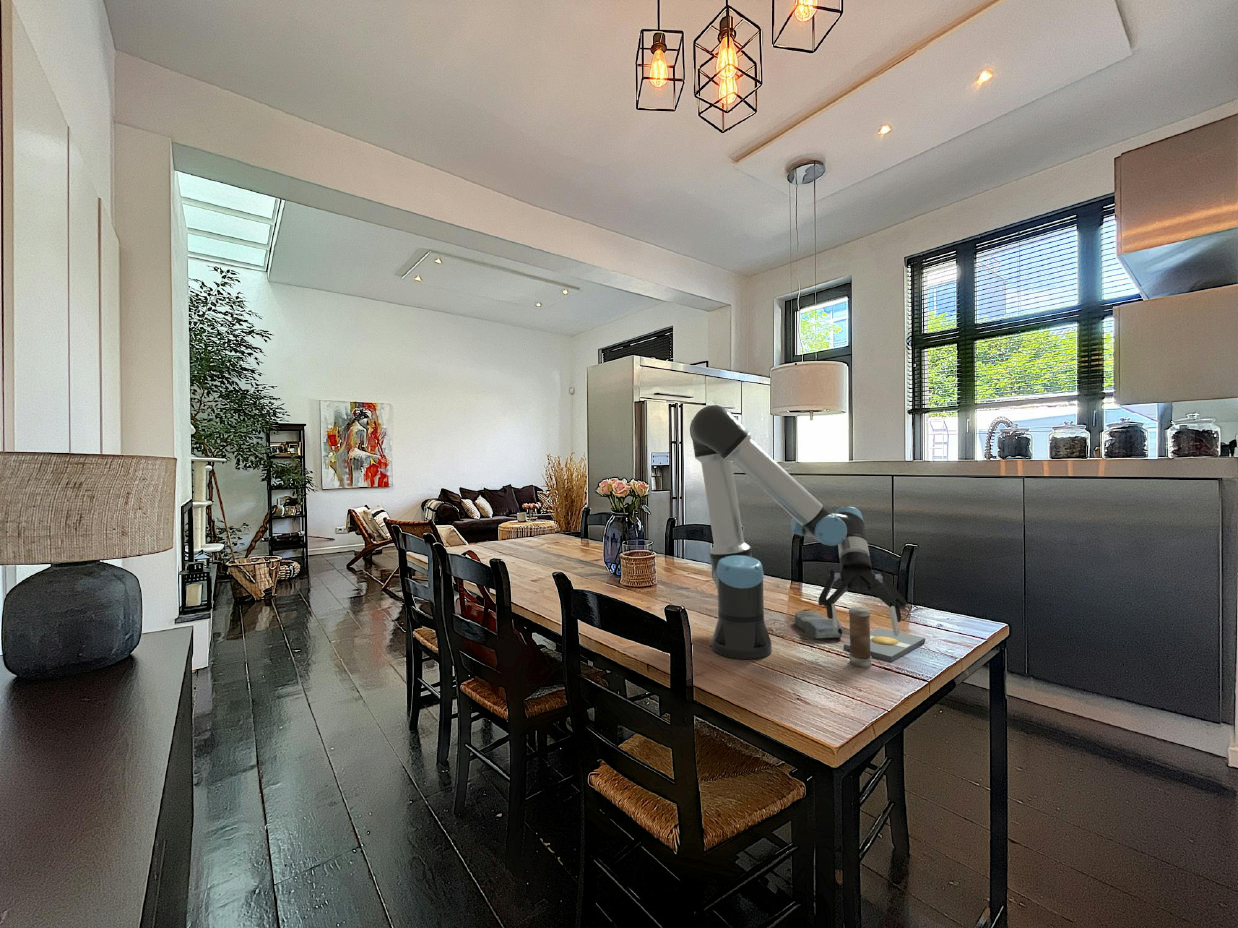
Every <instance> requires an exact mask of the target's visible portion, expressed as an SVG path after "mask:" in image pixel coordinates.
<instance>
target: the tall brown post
mask: <svg viewBox="0 0 1238 928" xmlns="http://www.w3.org/2000/svg"><path fill="white" fill-rule="evenodd" d="M848 614H849V642H850V650H849V652H850V653H849V655H848V656H849V657H848V658H849V659H848V660H849V664H850V666H852V667H856V668H859V669H860V668H861V669H868V668H871V667H872V665H873V664H872V656H870V632H871V626H870V625H871V623H870V622H871V621H870V620H871V618H870V617H871V610H870V609H869V608H865V607H861V606H857V607H856V606H852V607H849V608H848Z"/></svg>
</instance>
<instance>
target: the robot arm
mask: <svg viewBox="0 0 1238 928" xmlns="http://www.w3.org/2000/svg"><path fill="white" fill-rule="evenodd" d="M690 422H691V423H690V425H689V435H690V438H691V440H692V441H691V442H692V446H693V451H694V458H695V460H697V461H698V462H700V464H701V468H702V469H701V470H702V476H703V482H704V489H705V494H706V501H707V509H708V514H709V515H708V516H709V522H710V527H711V534H712V540H713V546H712V548H711V549H710V550H709V557H710V563H711V577H712V580H713V583H714V585H715V586H716V590H717V611H718V613H717V614H718V617H717V621H716V625H715V628H714V632H713V634H712V638H711V643H712V644H711V649H712V650H713V652H714V653H716V654H718V655H719V656H722V655H723V657H727V658H731V659H737V660H738V659H739V660H754V659H755V660H756V659H762V658H766V657H767V656H769V655H771V653H772V651H773V650H772V648H773V647H772V646H773V645H772V639H771V637H770V634H769V631H768V628H767V626H766V623H765V614H764V613H765V612H764V611H765V610H764V609H765V606H764V577H765V574H764V570H763V568H764V567H763V564H762V562H761V561H760V560H759V559H757V558H755V557H753V555H752V548H751V547H752V546H750V545H749V544H748V543H746V542H745V539H744V531H743V525H742V519H741V513H740V512H741V511H740V507H739V499H738V494H737V493H738V492H737V486H736V480H735V479H736V478H735V473H734V467H733V463H734V464H735V466H737V467H738V468H739V469H740V470H741V471H742V472H743V473H744V474H745V475H746V476H747V477H749V478H750V479H751V480H752V481H753V482H754V483H755V484H756V485H757V486H758V487H759V488H761V489H762V490H763V492H765V493H766V494H767V495H768V496H769V497H770V498H772V499H773V500H774V502H775V503H777V504H778V506H779V507H781V508H782V509H783V510H784V511H785V512H787V513H788V514H789V515H790V517H791V522H790V523H791V524H790V526H791V527H790V528H791V533H793V534H794V535H798V536H801V537H804V536H805V537H810V538H812V539H814V540H816V541H818V542H819V543H820V544H822V545H824V546H830V547H831V546H833V547H834V546H837V548H838V549H837V550H838V556H839V564H840V572H835V571H834V570H829V575H828V579H827V581H826V583H825V585H824V587H823V589H822V591H821V593H820V595H819V597H818V601H817V602H818V605H819V606H823V607H825V609H826V618H827V619H832V623H833V632H834V633H837V629H838V626H837V620H838V618H837V611H836V604H835V603H836V602H838V600H840V598H842V596H843V595H844V594H845V593H847V592H848V590H851V591H861V592H862V591H863V592H865V591H868V592H869V593H871V594H874V595H875V596H876V597H877V598H878V599H880V600H881V602H882V603H884V604H885V605H887V606H888V607H889V608H890V610H889V615H890V620H891V625H892V626H891V627H892V631H893V632H894V636H898V634H899V632H900V626H899V623H901V621H902V614H901V610H905V609H906V606H907V603H908V602H907V600H906V599H905V597H904V596H903V595H902V594H901V593H900V592H899V590H898V589H897V588H896V587H895V586H894V584H893V583H892V582H891V581H890V579H889V577H888V575H887V572H885V571H881V573H874V571H873V567H872V560H871V557H870V556H871V555H870V551H869V546H868V541H867V539H868V538H867V535H866V534H867V532H866V525H865V521H864V517H863V515H862V511H860V510H859V509H858V508H857V507H854V506H848V505H847V506H846V507H844V506H842V507H839V508H838V509H836V510H835V512H831V511H830V510H829V509H827V508H826V506H824V505H823V504H822V503H821V502H820V501H819V500H818V499H817V498H816V497H815V496H814V495H813V494H811V493H810V492H809V491H808V490H807V489H806V488H805V487H804V486H803V485H802V484H800V483H799V482H798V481H797V479H795V478H794V477H793V476H792V475H791V474H790V473H789V472H788V471H786V469H784V468H783V467H782V466H781V465H780V464H779V463H778V462H777V461H776V460H775V459H774V458H772V457H771V456H770V455H769V454H768V453H767V452H766V451H764V449H762V448H761V446H760V445H758V444H757V442H755V441H754V440H753V439H752V438H751V432H750V431H749V430H748V429H747V428H746V427H745V426H744V425H743V424H742V423H741V422H740V421H739V420H738V419H737V418H736V416H734V415H733V413H731V411H730V410H728V409H727V408H725V407H723V406H721V405H716V404H715V405H714V404H712V405H707V406H704V407H702V408H701V409H699V410H698V411H697V412H696V414H695V415H694V417H693V418H692V420H691V421H690ZM838 579H840V581H841V585H840V586H838V587H837V588H836V590H835V591H834V592H833V593H831V595H830V596H829V594H830V592H831V590H832V588H833V586H834V583H835V582H837V581H838ZM876 580H877V581H878V583H879V584H881V586H882V587H883V588H884V589H885V590H884V589H883V588H881V587H880V586H879V585H878V583H876ZM828 596H829V597H828Z"/></svg>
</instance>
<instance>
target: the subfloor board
mask: <svg viewBox="0 0 1238 928" xmlns="http://www.w3.org/2000/svg"><path fill="white" fill-rule="evenodd" d="M924 642H925V643H926V638H925V637H923V636H917V635H913V634H908V633H903V632H900V631H899V634H898V636H894V632H893V630H891V629H888V628H882V627H881V628H880V627H879V628H876V629H873V630H872V631H870V656H871V657H874V658H877V659H881V660H885V661H888V662H893V661H895V660H896V659H898V658H901V657H902V656H905V655H906V654H908V653H909V652H912V651H913V650H915V649H916V648H919V645H920V646H922V645H924V644H925V643H924ZM923 643H924V644H923ZM921 644H922V645H921ZM843 650H847V651H850V641H848V642H846V643H843Z"/></svg>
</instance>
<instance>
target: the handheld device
mask: <svg viewBox="0 0 1238 928" xmlns="http://www.w3.org/2000/svg"><path fill="white" fill-rule="evenodd" d="M794 623H795V625H796V626H797V627H798V628H800V629H801V630H803V631H804V634H805V637H807V638H810V639H812V640H816V639H817V640H818V639H836V638H837V639H839V638H842V637H843V633H844V631H843V626H842V625H841V623H840V620H839V619H837V626H838V629H837V633H834V632H833V623H832V619H828V617H825V616H823V615H821V614H819V613H816V612H813V611H810V610H809V611H807V610H806V611H805V610H804V611H796V612H795V613H794Z"/></svg>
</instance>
